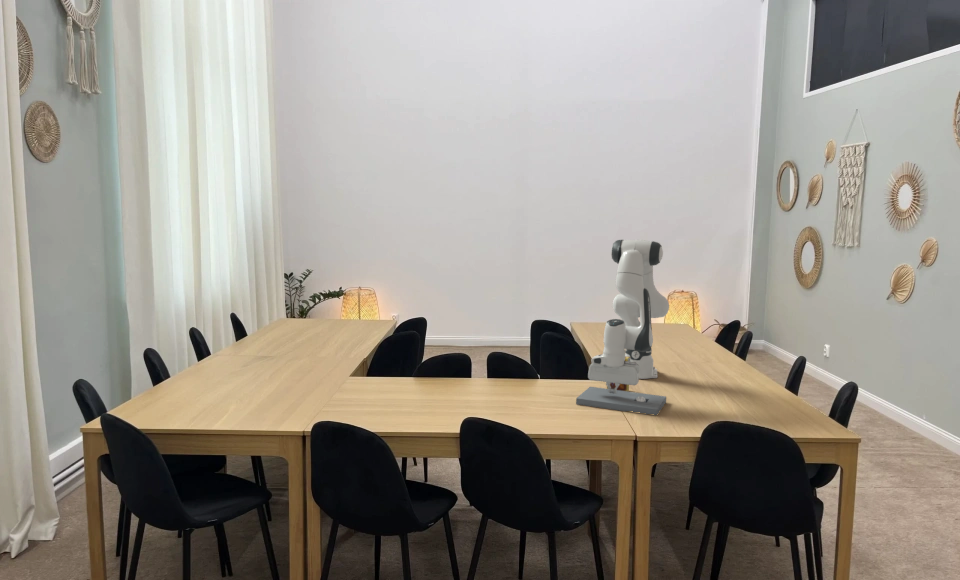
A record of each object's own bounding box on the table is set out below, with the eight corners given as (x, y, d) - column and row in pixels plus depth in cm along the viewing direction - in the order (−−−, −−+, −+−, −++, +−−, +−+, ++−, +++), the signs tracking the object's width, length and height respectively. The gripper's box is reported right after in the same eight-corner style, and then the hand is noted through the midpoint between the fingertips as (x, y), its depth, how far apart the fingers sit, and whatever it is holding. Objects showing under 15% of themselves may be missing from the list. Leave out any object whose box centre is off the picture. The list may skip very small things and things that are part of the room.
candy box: (606, 389, 293) (607, 355, 291) (609, 387, 297) (611, 353, 295) (626, 393, 289) (627, 358, 287) (629, 390, 293) (630, 356, 291)
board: (589, 392, 289) (589, 386, 289) (666, 402, 276) (666, 396, 275) (576, 404, 271) (576, 398, 271) (656, 415, 258) (657, 409, 257)
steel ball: (636, 394, 272) (646, 395, 270) (637, 404, 273) (647, 404, 271) (634, 397, 269) (644, 398, 267) (634, 407, 269) (645, 407, 268)
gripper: (641, 361, 272) (639, 394, 273) (591, 355, 280) (590, 387, 282) (638, 364, 266) (636, 398, 268) (587, 358, 274) (586, 391, 276)
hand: (612, 392), depth 275 cm, fingers closed
